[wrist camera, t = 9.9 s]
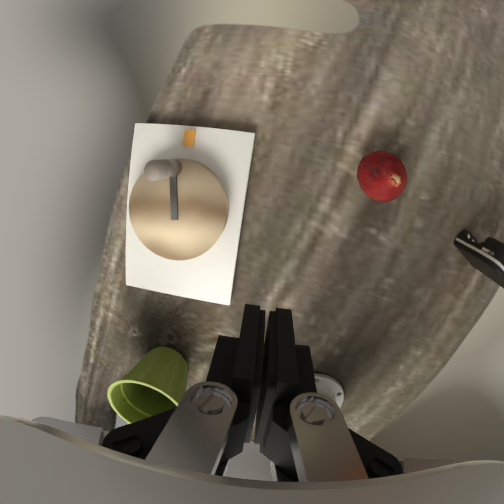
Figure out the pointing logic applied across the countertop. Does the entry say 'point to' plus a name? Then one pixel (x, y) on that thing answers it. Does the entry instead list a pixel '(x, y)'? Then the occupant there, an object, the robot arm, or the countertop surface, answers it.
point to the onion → (382, 176)
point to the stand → (235, 183)
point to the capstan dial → (178, 208)
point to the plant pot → (150, 385)
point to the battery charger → (483, 255)
